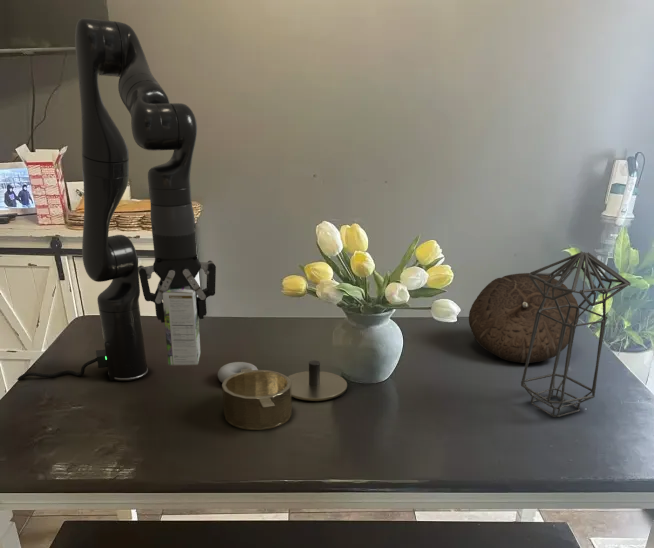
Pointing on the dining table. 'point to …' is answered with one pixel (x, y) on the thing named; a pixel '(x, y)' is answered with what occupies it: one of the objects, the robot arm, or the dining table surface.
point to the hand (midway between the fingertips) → (181, 319)
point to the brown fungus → (519, 318)
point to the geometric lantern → (569, 267)
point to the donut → (233, 369)
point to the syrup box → (182, 325)
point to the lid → (316, 384)
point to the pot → (257, 399)
